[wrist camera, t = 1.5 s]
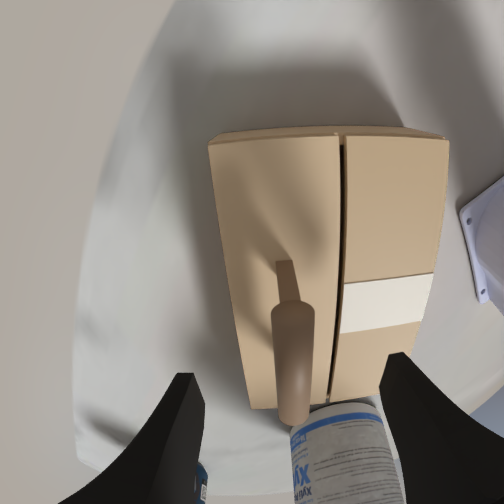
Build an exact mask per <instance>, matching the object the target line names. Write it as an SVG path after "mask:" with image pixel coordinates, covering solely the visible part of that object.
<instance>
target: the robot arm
mask: <svg viewBox="0 0 504 504" xmlns="http://www.w3.org/2000/svg"><path fill="white" fill-rule="evenodd" d="M459 216H460V220H461V224H462V227H463V231H464V235H465V239H466V243H467V247H468V251H469V256H470V260H471V265H472V270H473V275H474V281H475V286H476V293H477V299H478V302H479V303H480V304H484V303H485V302H487V301H488V300H489V299H490V300H491V301H492V303H493V304H494V305H495V306H496V307H497V308H498V309H499V311H500V312H501V313H502V314H503V315H504V176H503V177H502V178H501V179H499V180H498V181H497V182H496V183H494V184H493V185H492V186H490V187H489V188H488V189H487V190H485V191H484V192H483V193H481V194H480V195H479V196H477V197H476V198H475V199H473V200H472V201H471V202H469V203H468V204H467V205H465V206H464V207H463V208H462V209H461V210H460V214H459ZM468 218H469V220H468V222H467V219H468ZM379 392H380V396H381V401H382V405H383V410H384V413H385V416H386V419H387V422H388V424H389V427H390V430H391V433H392V436H393V439H394V442H395V445H396V448H397V451H398V454H399V458H400V462H401V467H402V472H403V478H404V485H405V493H406V503H407V504H504V438H503V437H501V436H499V435H497V434H496V433H494V432H492V431H491V430H489V429H487V428H486V427H484V426H482V425H481V424H480V423H478V422H477V421H475V420H474V419H473V418H471V417H470V416H469V415H467V414H466V413H465V412H464V411H462V410H461V409H460V408H459V407H458V406H457V405H456V404H454V403H453V402H452V401H451V400H450V399H449V398H448V397H447V396H446V395H445V394H444V393H443V392H442V391H441V390H440V389H439V388H438V387H437V386H436V385H435V384H434V383H433V382H432V381H431V380H430V379H429V378H428V377H427V376H426V375H425V374H424V373H423V372H422V371H421V370H420V369H419V368H418V367H417V366H416V365H415V363H414V362H413V361H412V360H411V359H410V358H409V357H408V356H407V355H406V354H405V353H404V352H398V353H393V354H389V355H388V359H387V362H386V365H385V369H384V372H383V375H382V378H381V381H380V384H379ZM204 417H205V402H204V400H203V397H202V394H201V392H200V389H199V387H198V384H197V381H196V378H195V376H194V373H177V374H176V375H175V377H174V379H173V380H172V382H171V384H170V386H169V387H168V389H167V391H166V392H165V394H164V396H163V397H162V399H161V401H160V402H159V404H158V405H157V407H156V408H155V410H154V411H153V413H152V414H151V416H150V417H149V419H148V420H147V422H146V423H145V425H144V426H143V427H142V429H141V430H140V431H139V433H138V434H137V435H136V437H135V438H134V439H133V440H132V442H131V443H130V444H129V445H128V446H127V448H126V449H125V450H124V451H123V452H122V453H121V454H120V455H119V456H118V457H117V458H116V459H115V460H114V461H113V462H112V463H111V464H110V465H109V466H108V467H107V468H106V469H105V470H104V471H103V472H102V473H101V474H100V475H98V476H97V477H96V478H95V479H93V480H92V481H91V482H90V483H89V484H87V485H86V486H85V487H83V488H82V489H80V490H79V491H77V492H76V493H74V494H73V495H71V496H69V497H68V498H66V499H65V500H63V501H61V502H60V503H58V504H194V487H195V477H196V470H197V464H198V459H199V453H200V447H201V441H202V436H203V430H204Z"/></svg>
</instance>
